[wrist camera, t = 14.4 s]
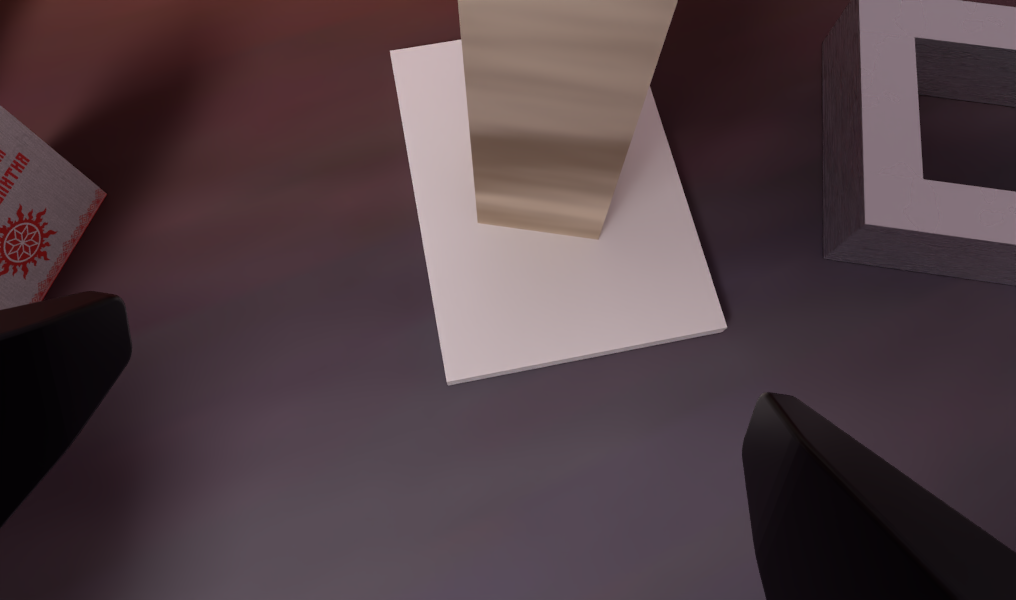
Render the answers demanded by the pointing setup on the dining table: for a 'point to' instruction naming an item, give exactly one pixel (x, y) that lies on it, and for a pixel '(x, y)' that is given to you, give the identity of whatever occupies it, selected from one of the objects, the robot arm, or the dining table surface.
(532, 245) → the tile
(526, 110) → the wooden peg
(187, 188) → the dining table surface
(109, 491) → the dining table surface
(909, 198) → the socket
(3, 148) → the white printed carton
